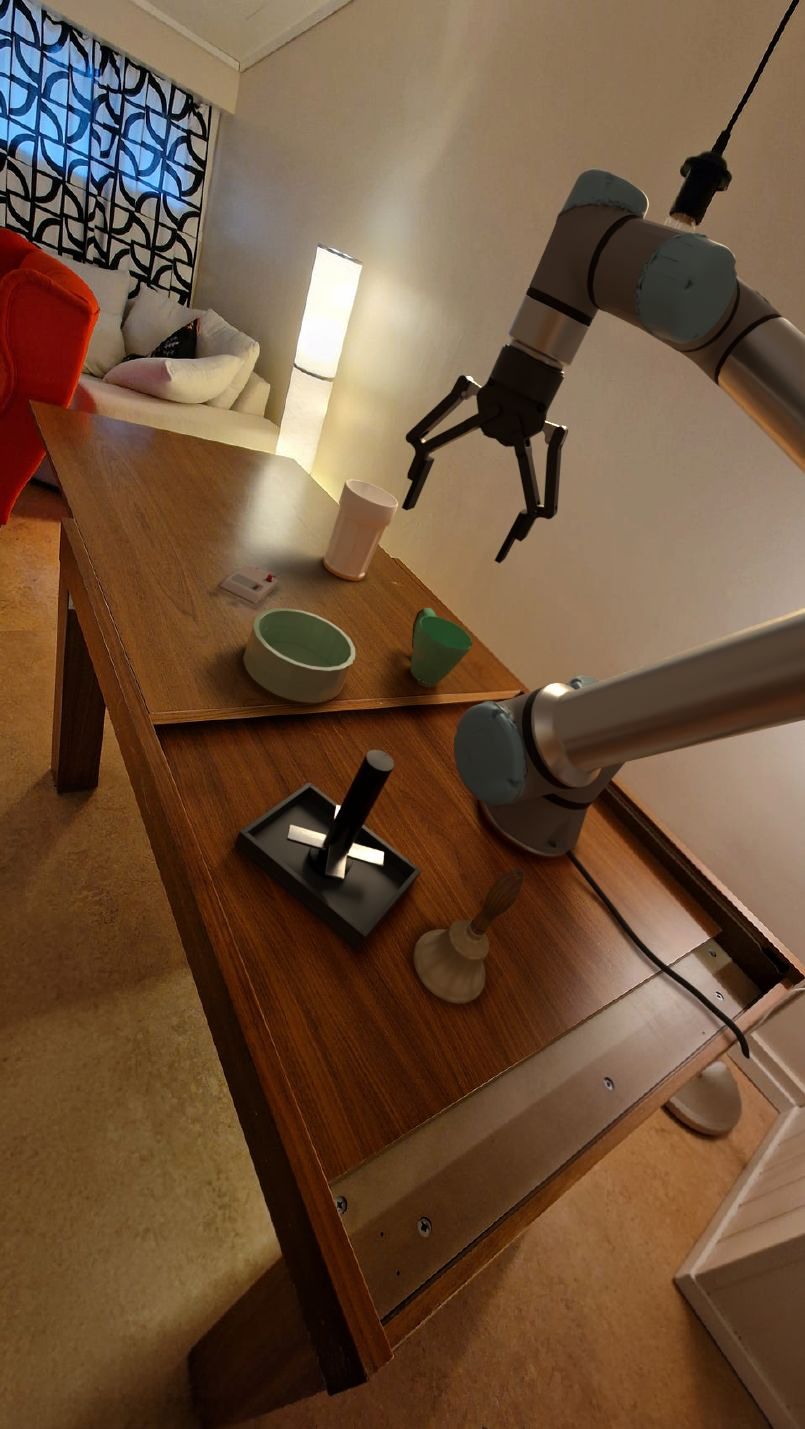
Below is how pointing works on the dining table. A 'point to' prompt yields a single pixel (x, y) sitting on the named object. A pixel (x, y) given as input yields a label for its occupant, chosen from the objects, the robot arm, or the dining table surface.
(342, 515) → the cup
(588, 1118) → the dining table surface
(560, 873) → the dining table surface
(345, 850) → the blade
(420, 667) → the mug
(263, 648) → the green bowl
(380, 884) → the tray
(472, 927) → the hand bell
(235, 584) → the remote control
